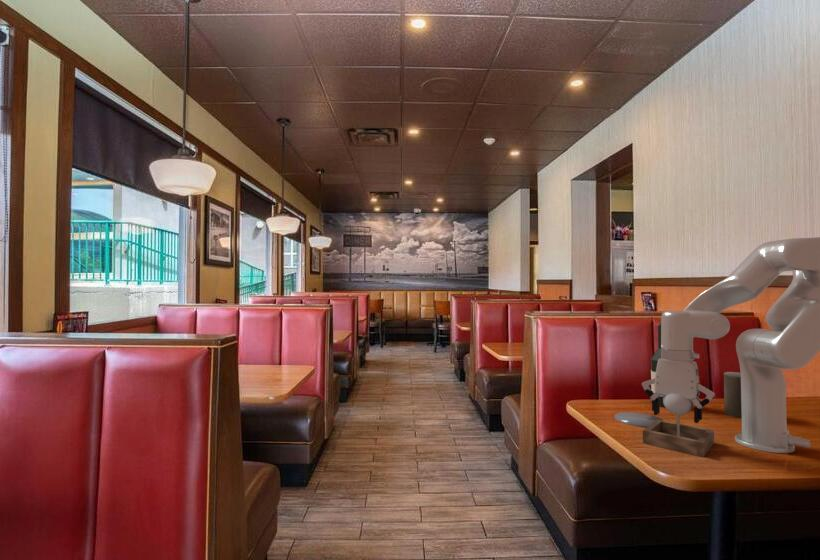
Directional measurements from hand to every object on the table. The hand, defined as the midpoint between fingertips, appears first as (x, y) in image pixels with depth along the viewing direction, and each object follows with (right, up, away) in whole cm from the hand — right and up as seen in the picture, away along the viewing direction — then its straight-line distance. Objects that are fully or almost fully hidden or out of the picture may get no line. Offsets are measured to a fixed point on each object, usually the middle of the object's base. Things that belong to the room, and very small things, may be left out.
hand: (676, 417), depth 118 cm
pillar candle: (+38, -8, +26) cm, 47 cm away
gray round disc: (0, -7, +20) cm, 21 cm away
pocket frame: (+1, -7, 0) cm, 7 cm away
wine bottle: (+19, -8, +38) cm, 43 cm away
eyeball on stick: (+1, -7, 0) cm, 7 cm away
